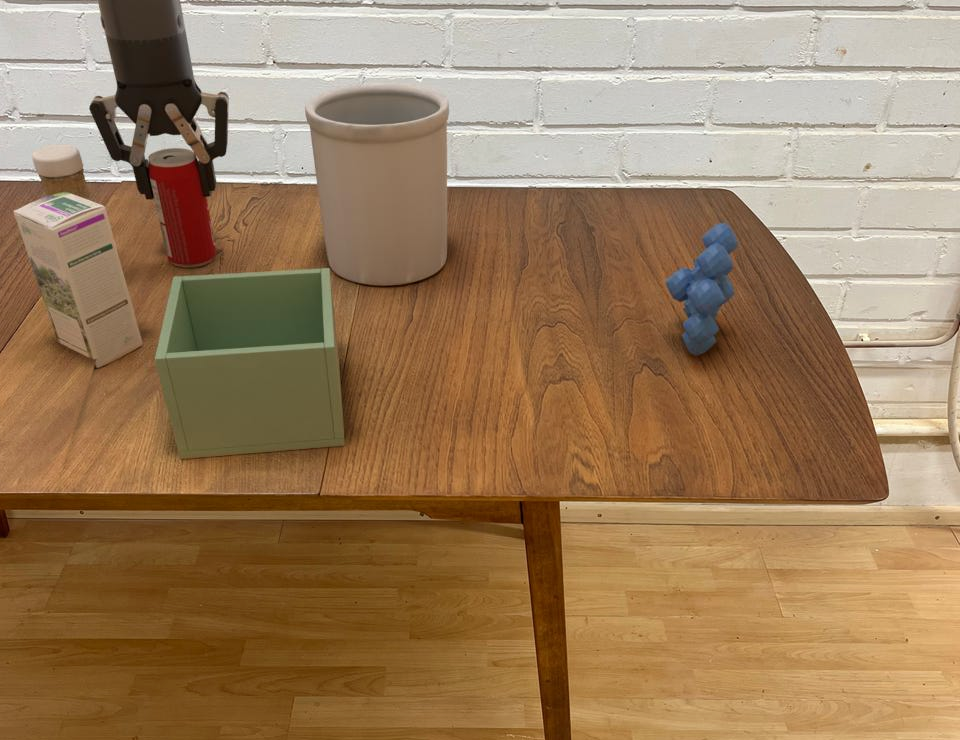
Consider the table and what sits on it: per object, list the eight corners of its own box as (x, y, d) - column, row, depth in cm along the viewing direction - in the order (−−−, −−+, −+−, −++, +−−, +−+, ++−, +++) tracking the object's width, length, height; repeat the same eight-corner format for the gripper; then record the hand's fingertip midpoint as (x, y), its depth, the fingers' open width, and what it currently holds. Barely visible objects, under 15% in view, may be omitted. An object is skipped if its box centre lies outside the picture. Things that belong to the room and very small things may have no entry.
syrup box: (145, 345, 88) (108, 202, 78) (95, 371, 84) (50, 225, 74) (108, 327, 90) (68, 187, 81) (57, 352, 86) (9, 208, 77)
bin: (180, 459, 74) (154, 358, 68) (194, 370, 84) (173, 276, 78) (344, 446, 76) (334, 346, 69) (339, 360, 86) (329, 267, 80)
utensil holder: (296, 255, 103) (276, 98, 92) (398, 221, 111) (391, 72, 100) (372, 303, 95) (360, 136, 84) (476, 262, 102) (479, 105, 91)
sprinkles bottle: (110, 260, 101) (78, 141, 93) (112, 277, 98) (79, 155, 90) (67, 265, 100) (31, 145, 92) (68, 284, 97) (30, 161, 88)
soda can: (226, 258, 102) (208, 154, 95) (185, 273, 99) (162, 167, 92) (199, 243, 105) (179, 140, 97) (158, 257, 102) (134, 153, 94)
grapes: (666, 308, 95) (684, 199, 87) (730, 319, 93) (754, 209, 86) (646, 363, 86) (664, 248, 79) (716, 376, 85) (742, 260, 77)
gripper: (222, 16, 90) (247, 179, 101) (74, 18, 88) (116, 185, 99) (217, 35, 85) (244, 206, 96) (59, 38, 83) (105, 212, 94)
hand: (179, 194), depth 97 cm, fingers closed on soda can, 5 cm apart
